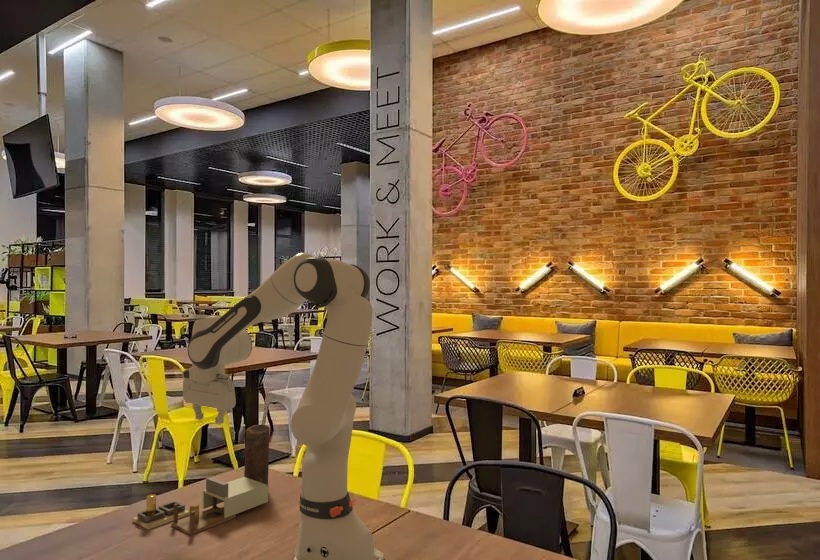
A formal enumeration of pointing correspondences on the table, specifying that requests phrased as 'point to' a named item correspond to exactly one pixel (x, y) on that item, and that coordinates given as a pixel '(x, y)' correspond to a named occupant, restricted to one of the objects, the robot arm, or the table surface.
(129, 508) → the table surface
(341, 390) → the robot arm
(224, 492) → the lid
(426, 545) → the table surface
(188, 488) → the table surface
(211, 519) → the base
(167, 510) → the tan socket tray
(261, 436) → the brown wooden log
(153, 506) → the pin
